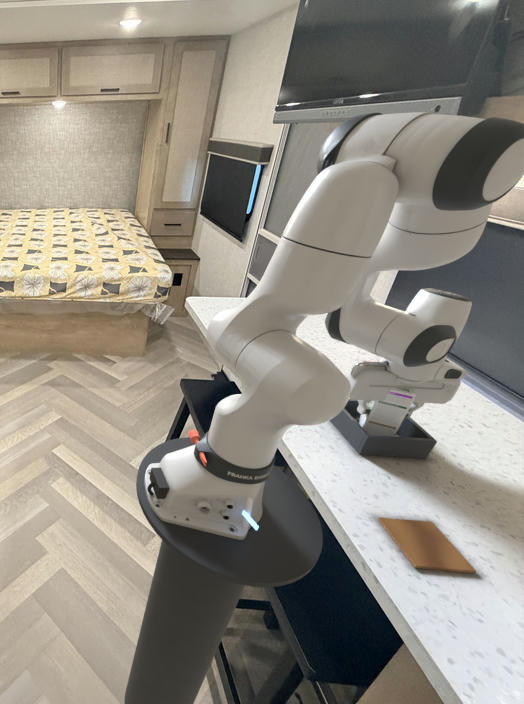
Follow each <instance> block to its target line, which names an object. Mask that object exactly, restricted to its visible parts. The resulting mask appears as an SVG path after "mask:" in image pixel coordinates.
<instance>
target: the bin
mask: <svg viewBox="0 0 524 704" xmlns="http://www.w3.org/2000/svg"><path fill="white" fill-rule="evenodd" d="M358 406H359V403H358V400H354V399H350V398H349V400H348V402H347V404H346V406H345V407H344V409H343V410H342V411H341V412H340V413H339V414H338V415H337V416H336V417H334V418H333V419H331V420H329V421H330V422H331V423H332V424H333V426H334V427H335V428H336V430H338V432H339V433H340V434H341V436H343V437H344V439H345V440H346V441H347V442H348V443H349V445H350V446H351V447H352V448H353V449H354V450H355V451H356V452H357V454H358V455H365V456H366V455H369V456H380V457H381V456H382V457H383V456H384V457H399V458H414V459H416V458H417V459H427V458H428V457H429V455H430V454H431V452H432V451H433V450H434V447H435V446H436V444H437V443H438V441H437V439H435V438H434V437H433V436H432V435H431V434H429V433H428V431H427V430H426V429H424V428H423V427H422V426H421V425H420V424H419V423H417V421H416V420H414V419H413V418H412V416H410V417H406V416H405V417H404V419H403V421H402V423H401V425H400V427H399V429H398V431H397V432H396V434H397V435H398V436H394V437H393V436H376V435H369V434H368V433H367V432H366V431H365V430H364V429H363V428H362V427H361V426H360V424H359V423H358V422H357V421H358V420H356V419H355V418H359V417H360V415H361V414H360V413H359V412H358V411H357V408H358Z"/></svg>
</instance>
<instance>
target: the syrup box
mask: <svg viewBox="0 0 524 704" xmlns="http://www.w3.org/2000/svg"><path fill="white" fill-rule="evenodd" d="M415 397H416V394H415V391H414V390H410V389H391V390H389V392H388V394H387V396H386V399H385V400H383V401H374V400H371V401H370V403H366V404H367V405H368V407H370V408H371V411H370V412H369V414H361V415H360V417H358V419H357V420H356V421H357V422H358V423H359V424H360V426H361V427H362V428H363V429H364V430H365V431H366V432H367V433H368V434H369V435H376V436H393V437H396V434H397V433H396V432H397V431H398V429H399V427H400V425H401V423H402V421H403V419H404V417H405V416H406V414H407V412H408V410H409V408H410V406H411V404H412V402H413V400H414V399H415Z"/></svg>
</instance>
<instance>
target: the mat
mask: <svg viewBox="0 0 524 704" xmlns="http://www.w3.org/2000/svg"><path fill="white" fill-rule="evenodd" d="M377 521H378V522H379V523H380V524H381V526H382V528H383V529H384V530H385V531H386V532H387V534H388V535H389V536H390V538H391V539H392V540H393V542H394V543H395V544H396V547H398V548H399V549H400V550H399V551H401V552H402V554H403V555H404V556H405V557H406V559H407V560H408V561H409V563H410V564H411V565H412V567H413V568H414V569H421V570H422V569H423V570H433V571H443V572H444V571H445V572H457V573H467V574H476V573H477V570H476V569H475V568H474V566H472V565H471V563H469V560H467V559H466V558H465V557H464V556H463V554H462V553H461V552H460V551H459V550H458V548H456V547H455V545H454V544H453V543H452V542H451V541H450V540H449V539H448V537H447V536H446V535H445V534H444V533H443V532H442V531H441V530H440V529H439V527H438V526H437V525H436V524H435V523H434V522H433V521H430V520H429V521H427V520H417V519H416V520H415V519H404V518H403V519H402V518H392V517H391V518H389V517H378V518H377Z"/></svg>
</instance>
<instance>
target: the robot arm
mask: <svg viewBox="0 0 524 704" xmlns="http://www.w3.org/2000/svg"><path fill="white" fill-rule="evenodd" d="M316 172H317V173H316V174H317V175H316V176H315V178H313V181H312V182H311V184H310V185H309V186H308V187H307V189H306V191H305V192H304V194H303V195H302V197H301V198H300V200H299V202H298V204H297V205H296V207H295V208H294V210H293V212H292V214H291V216H290V218H289V220H288V222H287V223H286V226H285V228H284V230H283V232H282V234H281V236H280V239H279V241H278V243H277V245H276V247H275V249H274V252H273V254H272V256H271V258H270V261H269V262H268V264H267V266H266V269H265V270H264V273H263V275H262V277H261V279H260V280H259V282H258V283H257V285H256V286H255V288H254V289H253V290H252V291H251V292H250V293H249V295H248V296H247V297H245V299H243V300H242V301H241V302H240V303H238V304H236V305H233V306H230V307H227V308H224V309H223V310H221V311H220V312H217V314H216V315H215V316H214V317H213V318H212V319H211V321H210V322H209V324H208V326H207V329H206V333H205V334H206V340H207V343H208V345H209V346H210V348H211V350H212V352H213V353H214V355H215V356H216V358H217V359H218V361H219V362H220V363H221V364H222V365H223V366H225V368H226V369H227V370H229V371H230V372H231V373H232V374H233V375H234V377H236V378H237V379H238V381H239V382H240V384H241V389H242V390H241V393H237V394H236V393H235V394H231V395H229V396H228V395H227V396H226V397H224V398H223V399H221V400H220V401H219V402H217V404H216V405H215V407H214V408H215V409H214V412H213V416H212V419H211V423H210V427H209V430H208V431H207V432H205V433H204V435H202V437H201V436H200V433H199V431H198V430H197V429H190V430H188V432H187V435H188V437H190V441H191V442H192V443H195V445H192V446H189V447H187V448H184V449H181V450H178V451H175V452H171V453H168V454H166V455H165V456H164V457H163V458H162V460H161V462H160V463H153V464H150V465H149V466H148V468H147V470H146V473H145V479H144V482H145V490H146V494H147V498H148V501H149V503H150V506H151V508H152V509H153V511H154V512H155V514H156V515H157V516H158V517H159V518H160V519H161V520H162V521H164V522H168V523H172V524H176V525H180V526H184V527H188V528H192V529H197V530H201V531H205V532H209V533H213V534H217V535H221V536H225V537H229V538H233V539H237V540H243V539H245V537H246V535H247V533H248V530H249V529H250V528H251V527H252V526H253V527H254V529H255V530H258V527H259V526H258V525H257V524H256V523H258V522H259V520H260V519H261V517H262V513H263V508H262V496H263V489H264V485H265V480H267V479H268V477H269V476H270V473H271V471H272V468H273V465H274V466H275V462H276V452H277V450H278V447H279V445H280V444H281V441H282V439H283V437H284V435H285V433H286V432H287V431H288V430H289V429H290V428H292V427H293V426H300V427H301V426H302V427H308V426H309V427H310V426H316V425H321V424H324V423H327V422H329V421H330V420H331V419H333V418H334V417H336V416H337V415H338V414H339V413H340V412H341V411H342V410H343V409H344V407H345V406H346V404H347V402H348V400H349V399H354V400H358V403H359V406H358V408H357V411H358V412H359V413H360V414H369V412H370V411H371V408H370V407H368V405H367V404H366V403H370V401H371V400H374V401H383V400H385V399H386V396H387V394H388V392H389V390H391V389H410V390H414V391H415V394H416V397H415V399H414V400H413V402H412V404H411V406H410V408H409V410H408V412H407V414H406V417H412V415H413V413H414V412H416V411H417V410H419V409H420V408H422V407H424V405H425V404H434V405H435V404H436V405H437V404H438V405H444V404H446V403H449V402H451V401H452V400H453V398H454V397H455V395H456V394H457V392H458V390H459V389H460V386H461V383H462V382H461V380H463V379H464V378H465V377H466V376H467V375H468V372H467V370H465V368H463V367H461V366H460V365H458V364H457V363H456V362H454V361H452V360H450V359H449V358H448V354H449V353H450V352H451V350H452V349H453V346H454V345H455V344H456V342H457V341H458V338H459V337H460V335H461V334H462V331H463V330H464V327H465V326H466V323H467V321H468V318H469V316H470V312H471V311H472V305H473V302H472V300H470V299H469V298H468V297H466V296H464V295H461V294H458V293H455V292H451V291H447V290H444V289H443V290H442V289H438V288H433V287H431V288H430V287H427V288H421V289H420V290H418V292H417V293H416V294H415V296H414V297H413V298H412V299H411V302H410V303H409V304H408V306H407V307H406V310H403V309H399V308H396V307H393V306H390V305H387V304H384V303H381V302H379V301H377V300H375V299H374V298H373V297H372V296H371V293H372V291H373V289H374V286H375V285H376V282H377V280H378V279H379V276H380V274H381V272H389V271H423V270H430V269H434V268H439V267H442V266H446V265H448V264H451V263H453V262H455V261H458V260H459V259H461V258H463V257H464V256H465V255H467V254H469V252H471V251H472V250H473V249H474V248H475V247H476V245H477V243H478V242H479V240H480V238H481V237H482V235H483V232H484V230H485V228H486V226H487V222H488V219H489V217H490V214H491V210H492V207H493V204H494V203H495V202H497V201H499V200H500V199H502V198H504V197H506V195H507V194H508V193H509V192H510V191H511V190H512V189H513V188H515V186H516V185H517V184H518V183H519V182H520V181H521V179H522V177H523V176H524V123H523V122H520V121H516V120H512V119H508V118H503V117H497V116H492V117H487V118H481V117H475V116H466V115H455V114H445V113H443V114H442V113H436V112H433V111H413V112H412V111H410V112H394V113H382V112H371V113H364V114H359V115H355V116H352V117H349V118H347V119H346V120H344V121H342V122H341V123H340V124H339V125H337V127H335V129H333V130H332V131H331V132H330V133H329V135H328V136H327V137H326V138H325V140H324V142H322V145H321V147H320V150H319V152H318V157H317V161H316ZM319 315H320V316H321V315H326V317H325V319H324V325H325V329H326V331H327V333H328V335H329V337H330V338H331V339H333V340H335V341H338V342H341V343H344V344H347V345H351V346H354V347H356V348H358V349H360V350H363V351H365V352H368V353H369V354H372V355H375V356H377V357H380V358H381V359H380V360H362V361H361V362H358V363H356V364H354V365H353V366H352V368H351V369H350V371H349V372H348V373H347V375H345V374H344V373H343V372H342V371H341V370H340V369H339V367H338V366H337V365H336V364H335V363H334V362H333V361H332V360H331V359H330V358H329V357H328V356H327V355H325V354H324V353H323V352H321V351H320V350H319V349H316V348H315V347H313V346H312V345H311V344H309V343H308V342H306V341H305V340H303V339H302V338H300V337H299V336H297V333H296V332H297V330H298V328H299V326H300V325H301V324H302V323H303V321H304V320H306V319H307V318H308V317H309V316H319ZM149 474H150V475H149ZM156 506H158V507H156ZM230 530H232V531H233V532H232V531H230Z"/></svg>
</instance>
